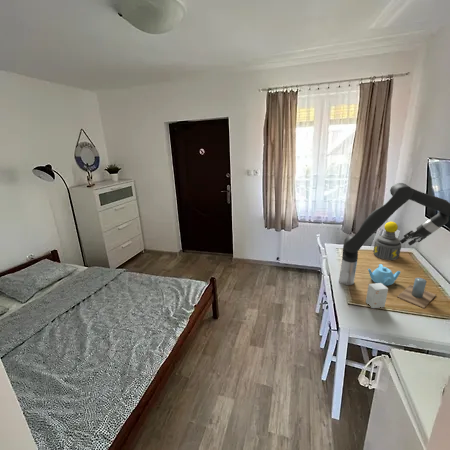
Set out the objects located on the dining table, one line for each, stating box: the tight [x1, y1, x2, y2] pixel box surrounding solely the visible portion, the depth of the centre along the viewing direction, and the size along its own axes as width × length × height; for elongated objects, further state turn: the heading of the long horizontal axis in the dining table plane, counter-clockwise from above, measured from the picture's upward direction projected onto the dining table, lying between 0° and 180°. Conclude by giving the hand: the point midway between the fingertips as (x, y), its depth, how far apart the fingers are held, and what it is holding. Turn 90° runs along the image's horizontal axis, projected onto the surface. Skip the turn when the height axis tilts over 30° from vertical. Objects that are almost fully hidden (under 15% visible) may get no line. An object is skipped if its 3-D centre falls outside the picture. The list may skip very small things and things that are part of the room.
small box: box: [365, 282, 389, 309], centre depth 147 cm, size 8×6×13 cm
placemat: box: [396, 284, 437, 309], centre depth 155 cm, size 20×14×1 cm
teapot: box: [367, 263, 401, 287], centre depth 171 cm, size 15×15×11 cm
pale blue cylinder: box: [412, 277, 427, 298], centre depth 153 cm, size 6×6×11 cm
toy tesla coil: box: [373, 221, 402, 261], centre depth 204 cm, size 19×19×30 cm
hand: (405, 243), depth 164 cm, fingers open, 8 cm apart
